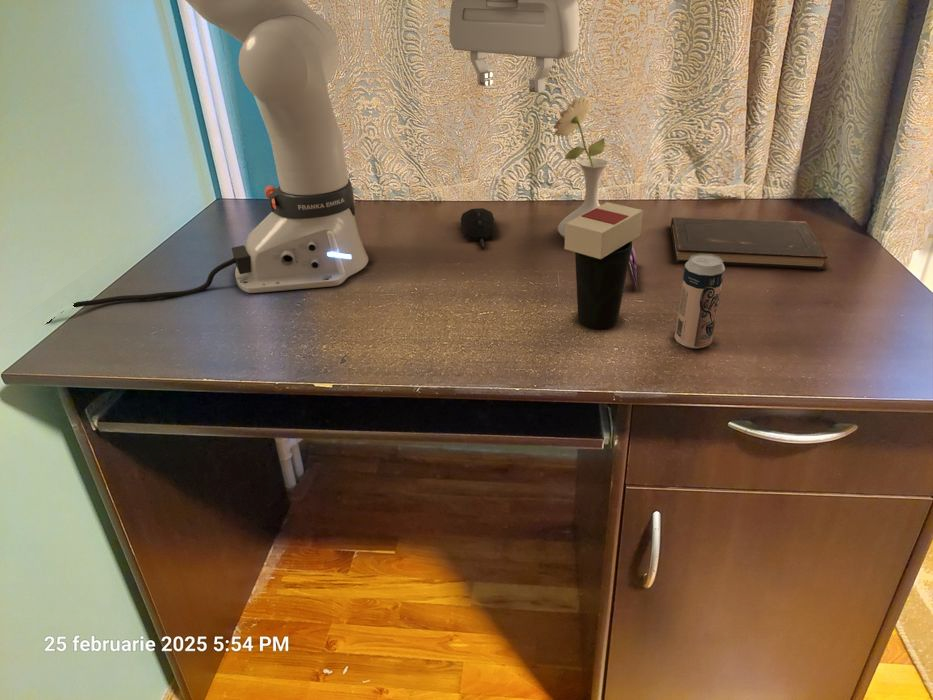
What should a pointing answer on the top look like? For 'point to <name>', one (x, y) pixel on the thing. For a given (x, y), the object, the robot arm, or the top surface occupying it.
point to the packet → (603, 230)
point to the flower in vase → (590, 167)
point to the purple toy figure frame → (633, 272)
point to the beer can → (699, 300)
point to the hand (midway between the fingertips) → (510, 88)
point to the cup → (601, 287)
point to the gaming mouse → (478, 225)
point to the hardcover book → (748, 242)
